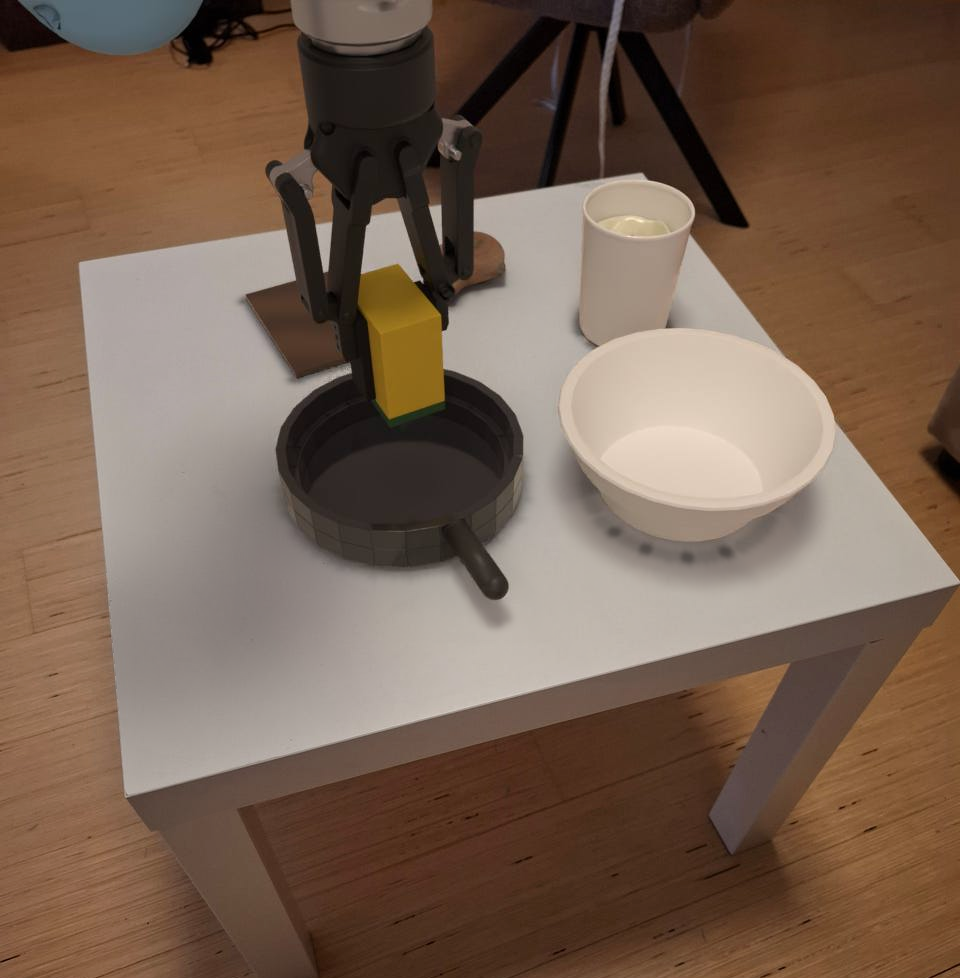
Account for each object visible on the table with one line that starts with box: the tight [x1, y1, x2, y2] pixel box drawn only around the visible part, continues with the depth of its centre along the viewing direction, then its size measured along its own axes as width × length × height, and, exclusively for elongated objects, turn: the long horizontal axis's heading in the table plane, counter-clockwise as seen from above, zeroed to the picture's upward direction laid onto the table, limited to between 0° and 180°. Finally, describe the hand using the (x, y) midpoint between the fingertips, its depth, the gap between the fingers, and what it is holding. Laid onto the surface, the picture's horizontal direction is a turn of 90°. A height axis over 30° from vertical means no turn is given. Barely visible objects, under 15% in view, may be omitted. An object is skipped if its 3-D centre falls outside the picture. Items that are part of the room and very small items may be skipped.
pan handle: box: [444, 520, 510, 601], centre depth 69 cm, size 8×2×2 cm, turn 28°
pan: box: [275, 368, 524, 568], centre depth 77 cm, size 20×20×4 cm
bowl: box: [557, 327, 837, 543], centre depth 75 cm, size 21×21×8 cm
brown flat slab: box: [245, 271, 350, 379], centre depth 91 cm, size 14×10×1 cm
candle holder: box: [578, 178, 696, 347], centre depth 87 cm, size 10×10×12 cm
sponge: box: [357, 263, 445, 428], centre depth 68 cm, size 7×4×8 cm, turn 27°
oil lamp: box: [439, 230, 507, 300], centre depth 95 cm, size 9×4×8 cm
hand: (396, 378), depth 70 cm, fingers closed on sponge, 4 cm apart
